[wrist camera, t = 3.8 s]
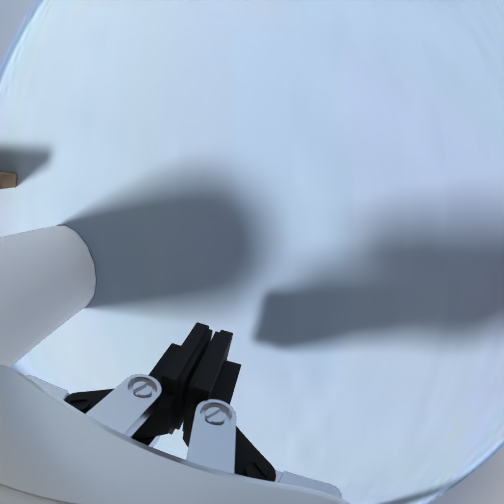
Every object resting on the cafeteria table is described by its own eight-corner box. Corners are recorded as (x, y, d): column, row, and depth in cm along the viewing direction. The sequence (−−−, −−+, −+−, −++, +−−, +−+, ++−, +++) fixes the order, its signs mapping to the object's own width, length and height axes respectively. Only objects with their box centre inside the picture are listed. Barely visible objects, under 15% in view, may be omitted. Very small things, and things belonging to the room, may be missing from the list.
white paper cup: (54, 314, 16) (-38, 377, 7) (30, 228, 15) (-79, 264, 5) (114, 313, 15) (1, 408, 6) (86, 207, 14) (-64, 245, 4)
